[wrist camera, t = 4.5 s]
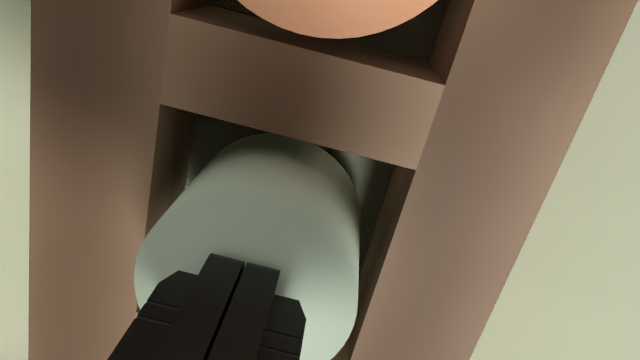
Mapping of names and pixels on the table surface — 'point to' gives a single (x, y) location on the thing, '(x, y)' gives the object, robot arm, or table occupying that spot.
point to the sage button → (269, 230)
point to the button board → (310, 126)
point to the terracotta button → (337, 15)
